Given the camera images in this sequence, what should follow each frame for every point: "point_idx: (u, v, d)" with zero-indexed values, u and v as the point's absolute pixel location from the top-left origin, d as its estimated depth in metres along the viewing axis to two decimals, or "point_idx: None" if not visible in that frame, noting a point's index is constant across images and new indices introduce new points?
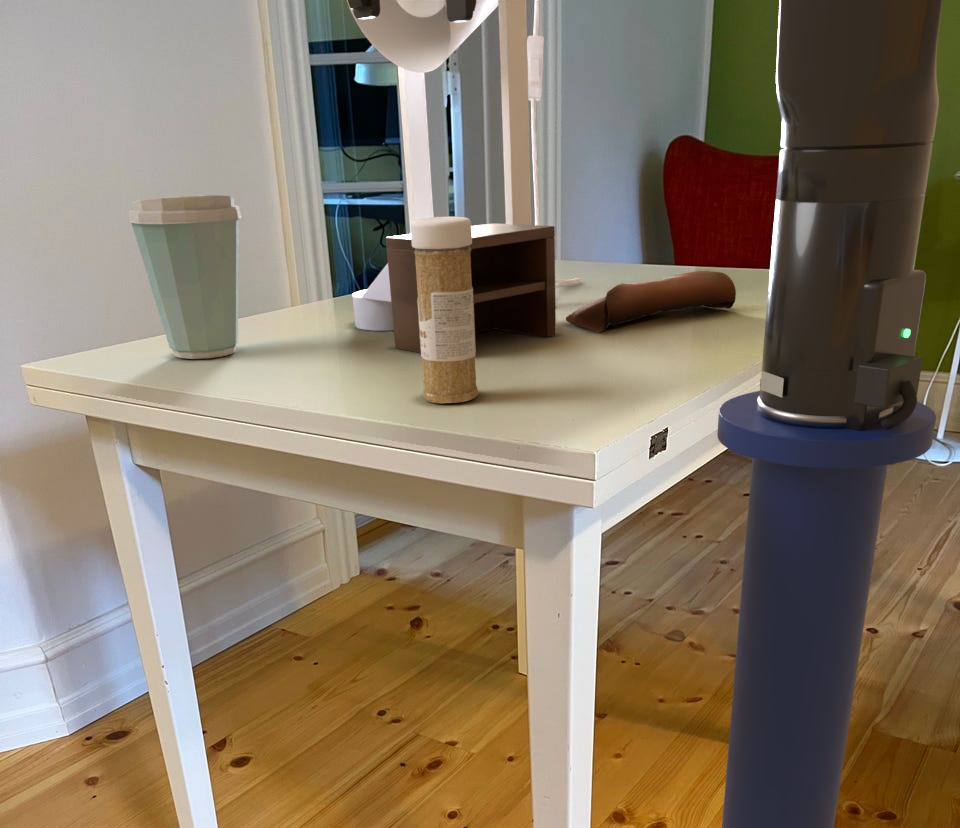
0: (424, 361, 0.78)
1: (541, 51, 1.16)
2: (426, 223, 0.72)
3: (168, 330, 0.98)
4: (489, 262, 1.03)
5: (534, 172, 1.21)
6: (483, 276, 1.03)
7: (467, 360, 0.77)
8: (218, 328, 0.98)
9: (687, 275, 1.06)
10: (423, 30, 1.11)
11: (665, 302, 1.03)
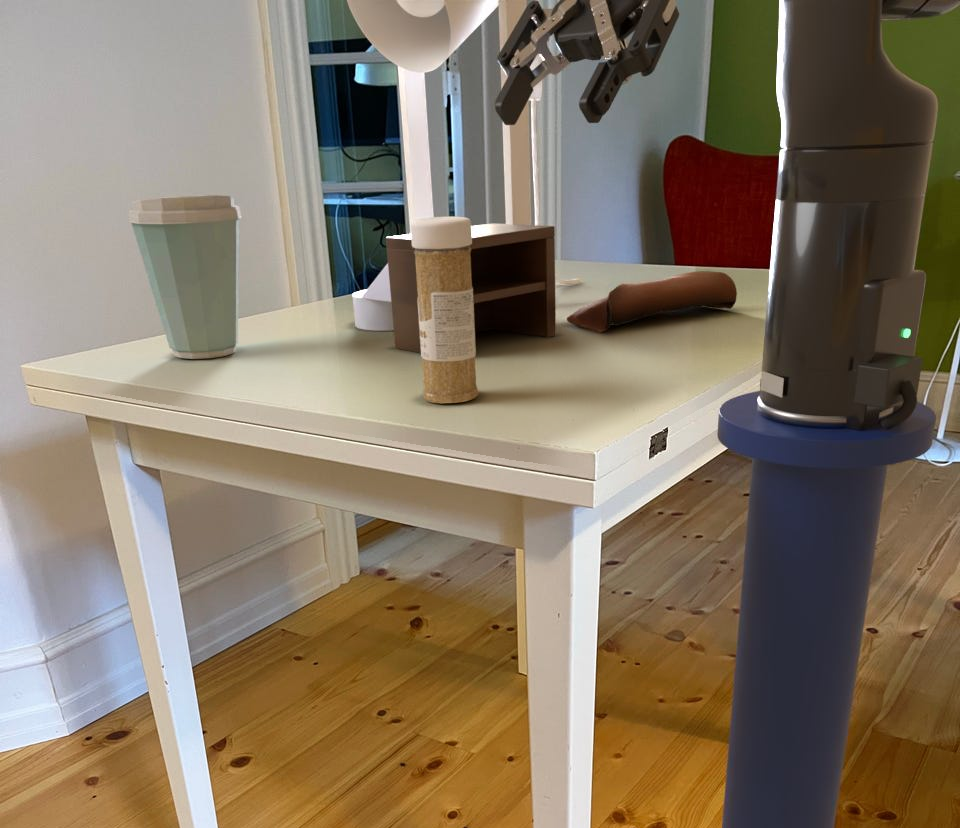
0: (424, 361, 0.78)
1: None
2: (426, 223, 0.72)
3: (168, 330, 0.98)
4: (489, 262, 1.03)
5: (534, 172, 1.21)
6: (483, 276, 1.03)
7: (467, 360, 0.77)
8: (218, 328, 0.98)
9: (688, 275, 1.06)
10: (423, 30, 1.11)
11: (667, 302, 1.03)
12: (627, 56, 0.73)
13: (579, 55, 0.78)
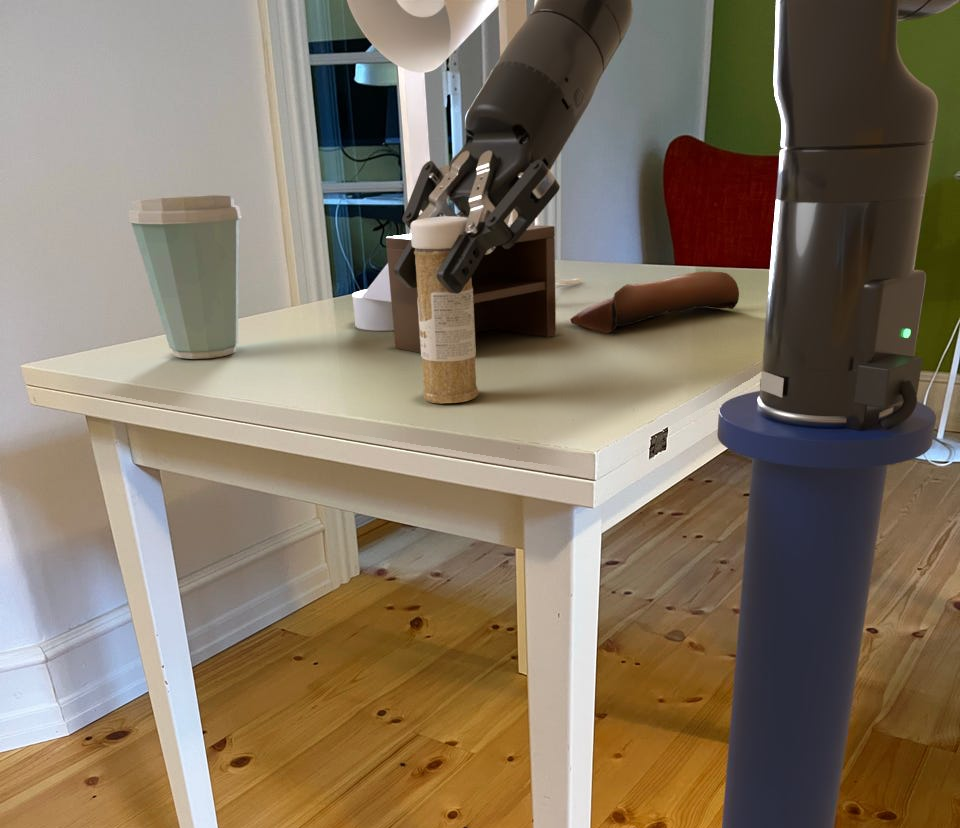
0: (424, 361, 0.78)
1: None
2: (426, 223, 0.72)
3: (168, 330, 0.98)
4: (489, 262, 1.03)
5: None
6: (483, 276, 1.03)
7: (467, 360, 0.77)
8: (218, 328, 0.98)
9: (691, 276, 1.06)
10: (423, 30, 1.11)
11: (671, 302, 1.02)
12: (486, 230, 0.71)
13: None
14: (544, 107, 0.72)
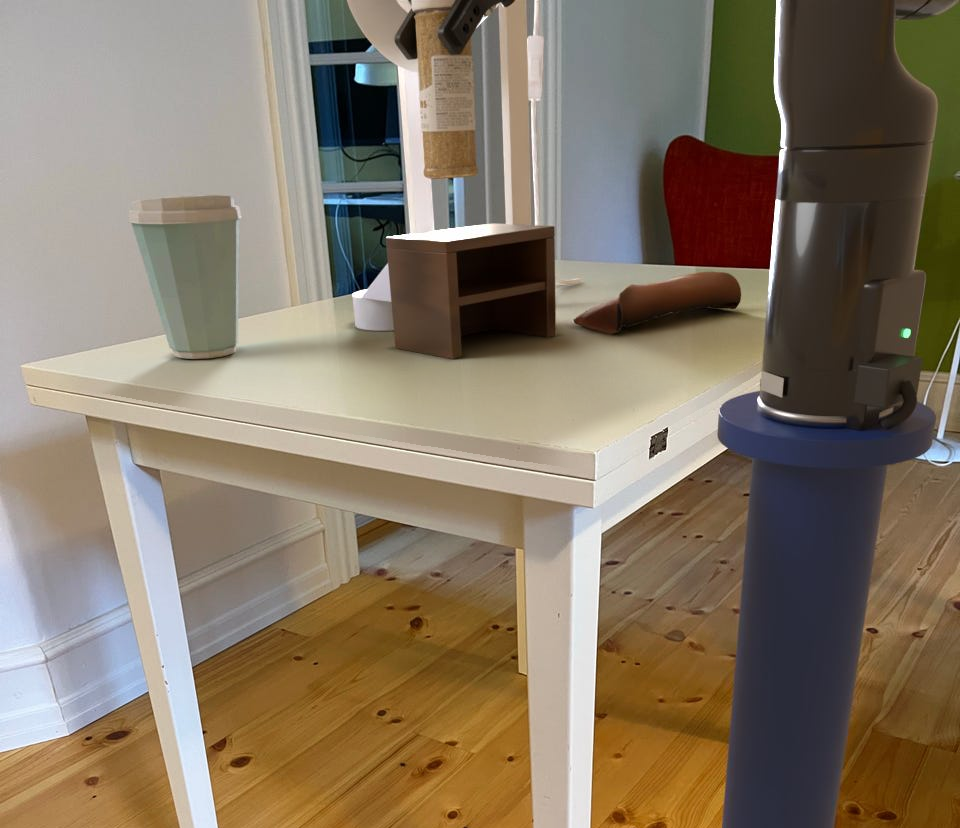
0: (424, 134, 0.78)
1: (541, 51, 1.16)
2: None
3: (168, 330, 0.98)
4: (489, 262, 1.03)
5: (534, 172, 1.21)
6: (483, 276, 1.03)
7: (467, 132, 0.78)
8: (218, 328, 0.98)
9: (694, 276, 1.06)
10: None
11: (676, 303, 1.02)
12: None
13: None
14: None
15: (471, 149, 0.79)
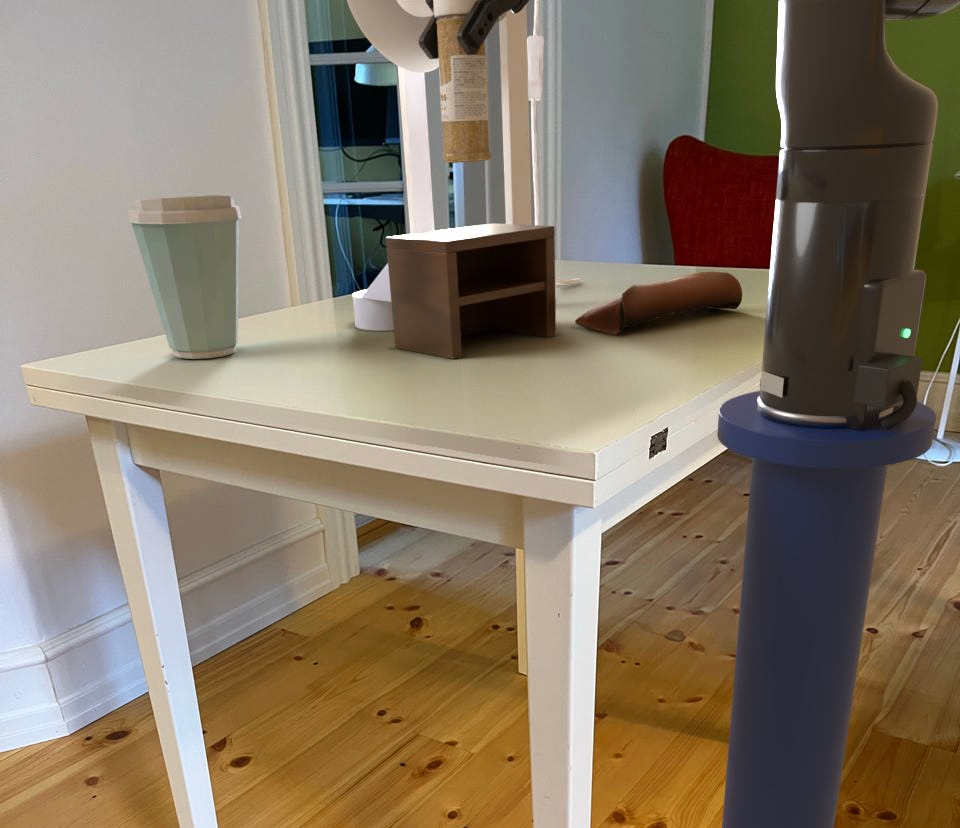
0: (444, 124, 0.90)
1: (541, 51, 1.16)
2: None
3: (168, 330, 0.98)
4: (489, 262, 1.03)
5: (534, 172, 1.21)
6: (483, 276, 1.03)
7: (481, 121, 0.89)
8: (218, 328, 0.98)
9: (695, 276, 1.06)
10: (423, 30, 1.11)
11: (678, 303, 1.02)
12: None
13: None
14: None
15: (485, 137, 0.90)
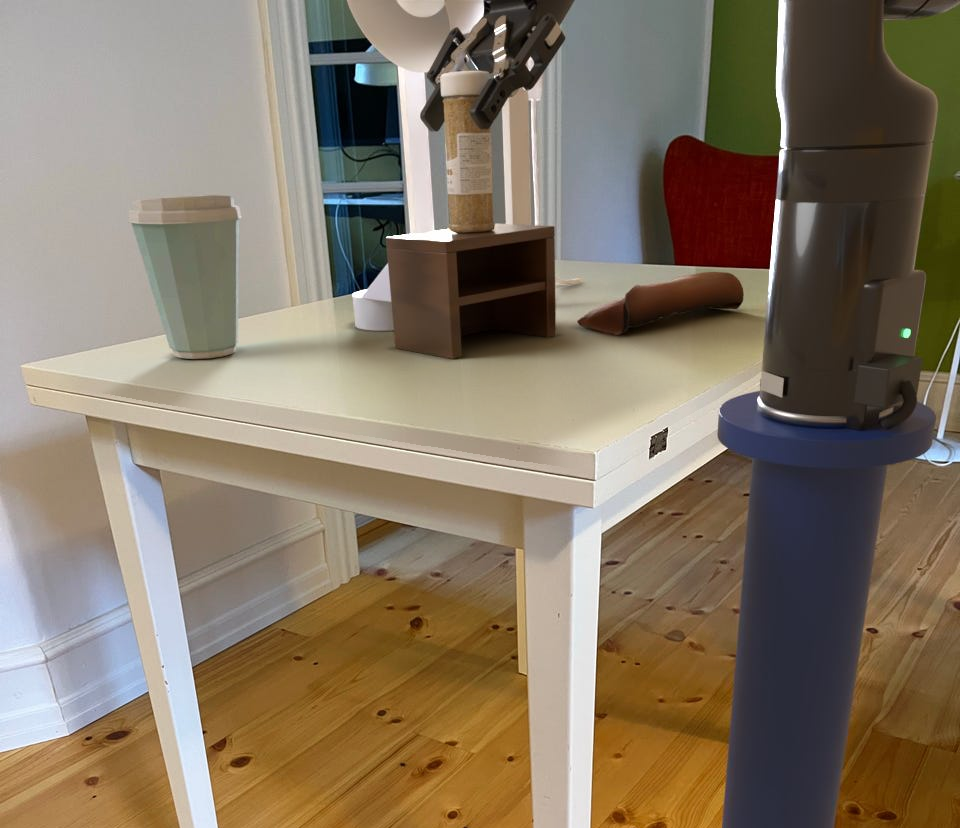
0: (450, 196, 0.93)
1: None
2: (454, 73, 0.88)
3: (168, 330, 0.98)
4: (489, 262, 1.03)
5: (534, 172, 1.21)
6: (483, 276, 1.03)
7: (486, 195, 0.93)
8: (218, 328, 0.98)
9: (697, 276, 1.05)
10: (423, 30, 1.11)
11: (680, 303, 1.02)
12: (511, 73, 0.87)
13: (488, 68, 0.91)
14: None
15: (489, 209, 0.94)
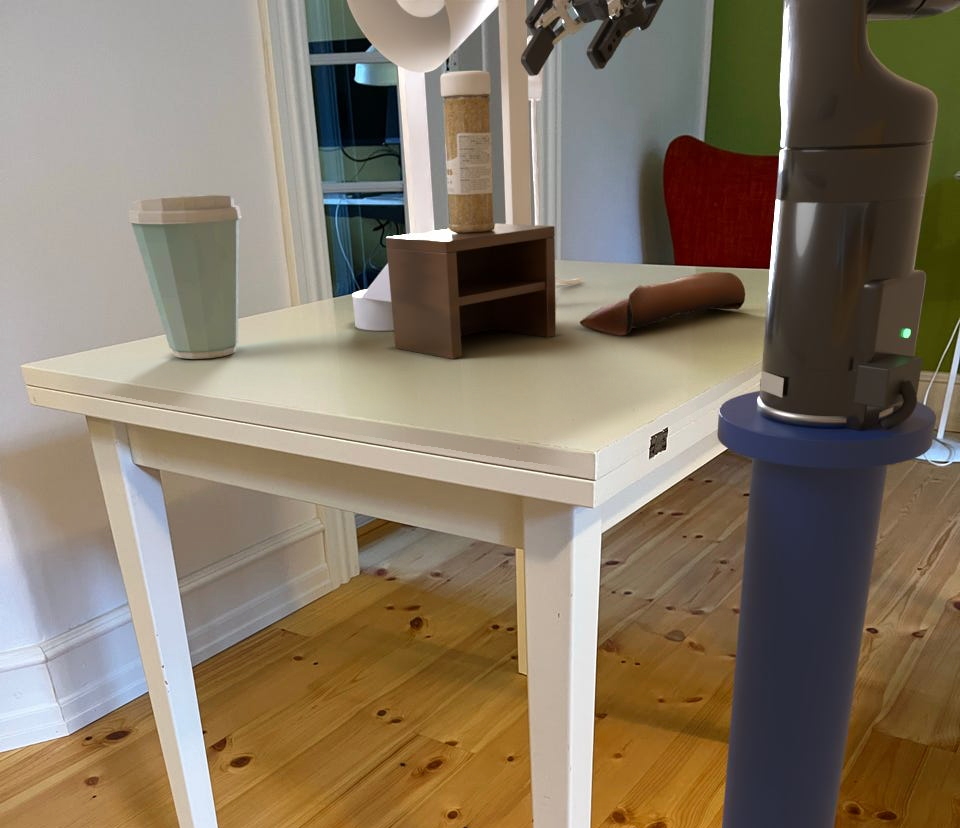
0: (450, 196, 0.93)
1: None
2: (453, 73, 0.88)
3: (168, 330, 0.98)
4: (489, 262, 1.03)
5: (534, 172, 1.21)
6: (483, 276, 1.03)
7: (486, 195, 0.93)
8: (218, 328, 0.98)
9: (699, 276, 1.05)
10: (423, 30, 1.11)
11: (683, 303, 1.02)
12: (628, 13, 0.88)
13: (591, 16, 0.94)
14: None
15: (489, 209, 0.94)
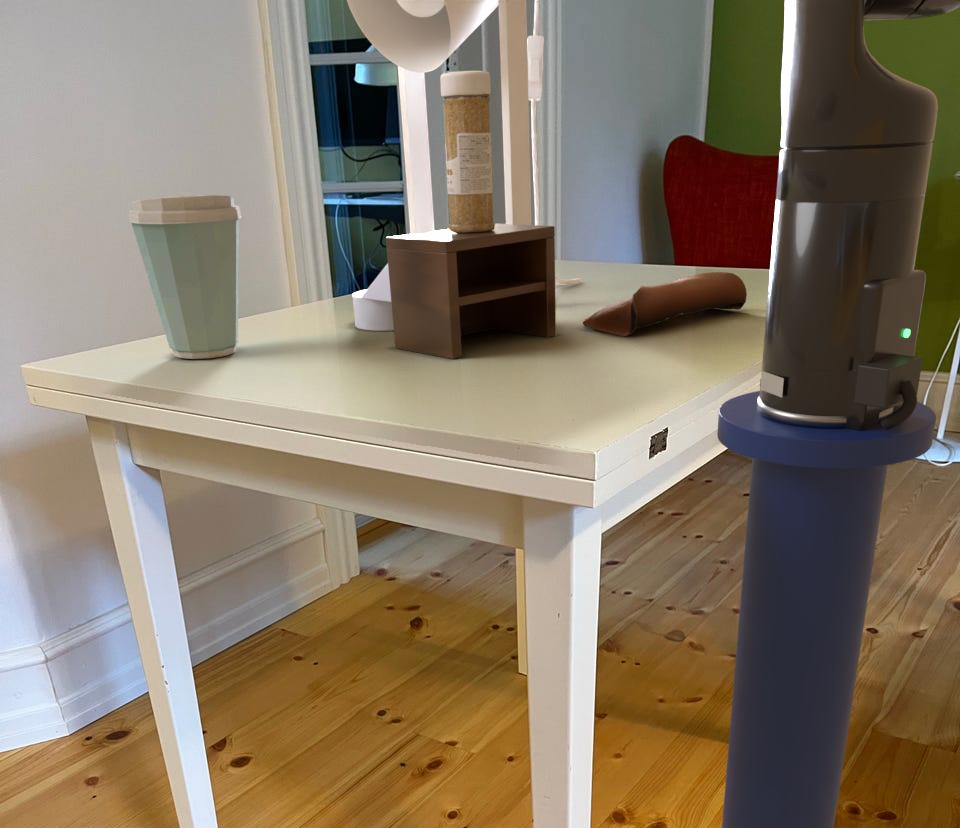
0: (450, 196, 0.93)
1: (541, 51, 1.16)
2: (453, 73, 0.88)
3: (168, 330, 0.98)
4: (489, 262, 1.03)
5: (534, 172, 1.21)
6: (483, 276, 1.03)
7: (486, 195, 0.93)
8: (218, 328, 0.98)
9: (701, 277, 1.05)
10: (423, 30, 1.11)
11: (686, 304, 1.01)
12: None
13: None
14: None
15: (489, 209, 0.94)
